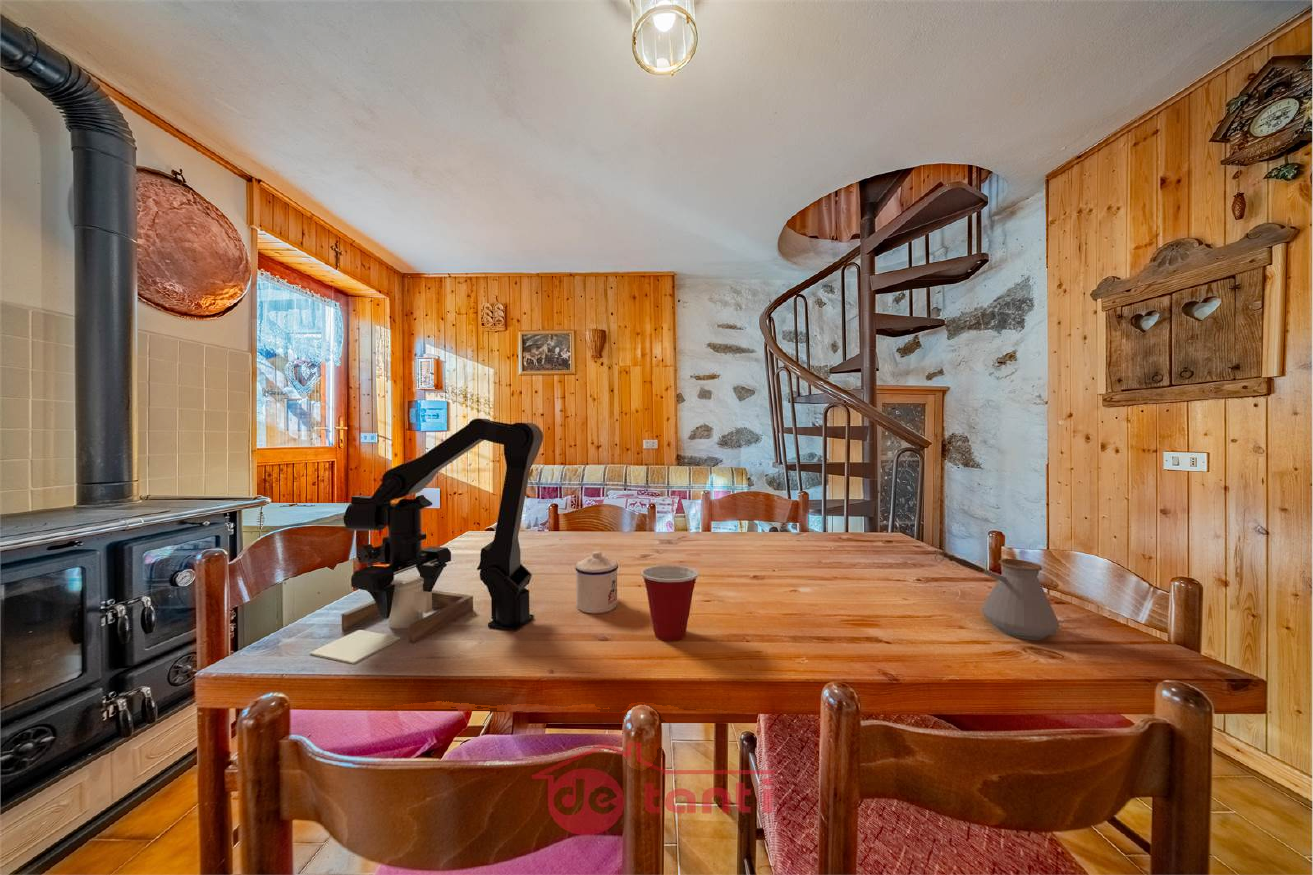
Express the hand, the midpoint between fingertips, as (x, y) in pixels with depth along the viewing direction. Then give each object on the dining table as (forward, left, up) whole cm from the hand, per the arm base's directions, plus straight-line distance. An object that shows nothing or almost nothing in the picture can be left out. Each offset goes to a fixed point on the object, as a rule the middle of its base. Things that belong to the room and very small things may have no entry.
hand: (406, 609), depth 89 cm
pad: (0, +11, -2) cm, 11 cm away
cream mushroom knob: (-1, 0, -3) cm, 3 cm away
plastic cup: (-51, -11, -3) cm, 52 cm away
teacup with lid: (-32, -20, -3) cm, 38 cm away
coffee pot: (-109, -31, -3) cm, 113 cm away
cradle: (0, -1, -2) cm, 3 cm away
